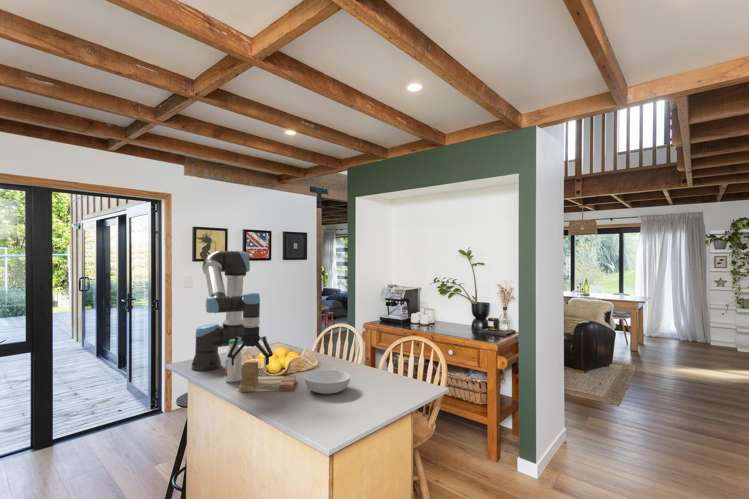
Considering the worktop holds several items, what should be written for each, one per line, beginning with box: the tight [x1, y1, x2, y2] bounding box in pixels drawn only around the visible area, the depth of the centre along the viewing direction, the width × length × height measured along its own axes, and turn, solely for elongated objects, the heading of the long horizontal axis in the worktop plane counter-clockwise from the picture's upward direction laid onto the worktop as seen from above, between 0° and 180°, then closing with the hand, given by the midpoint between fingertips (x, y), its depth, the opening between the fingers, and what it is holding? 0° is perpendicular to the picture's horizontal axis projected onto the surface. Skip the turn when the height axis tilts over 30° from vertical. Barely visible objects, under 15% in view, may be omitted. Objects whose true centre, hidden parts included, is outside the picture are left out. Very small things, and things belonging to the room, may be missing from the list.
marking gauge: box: [240, 361, 259, 392], centre depth 179 cm, size 8×6×11 cm
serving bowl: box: [304, 369, 351, 395], centre depth 178 cm, size 21×21×7 cm
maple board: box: [238, 375, 297, 393], centre depth 183 cm, size 14×24×2 cm, turn 95°
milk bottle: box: [224, 339, 243, 383], centre depth 192 cm, size 8×8×20 cm
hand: (250, 372), depth 180 cm, fingers open, 13 cm apart
